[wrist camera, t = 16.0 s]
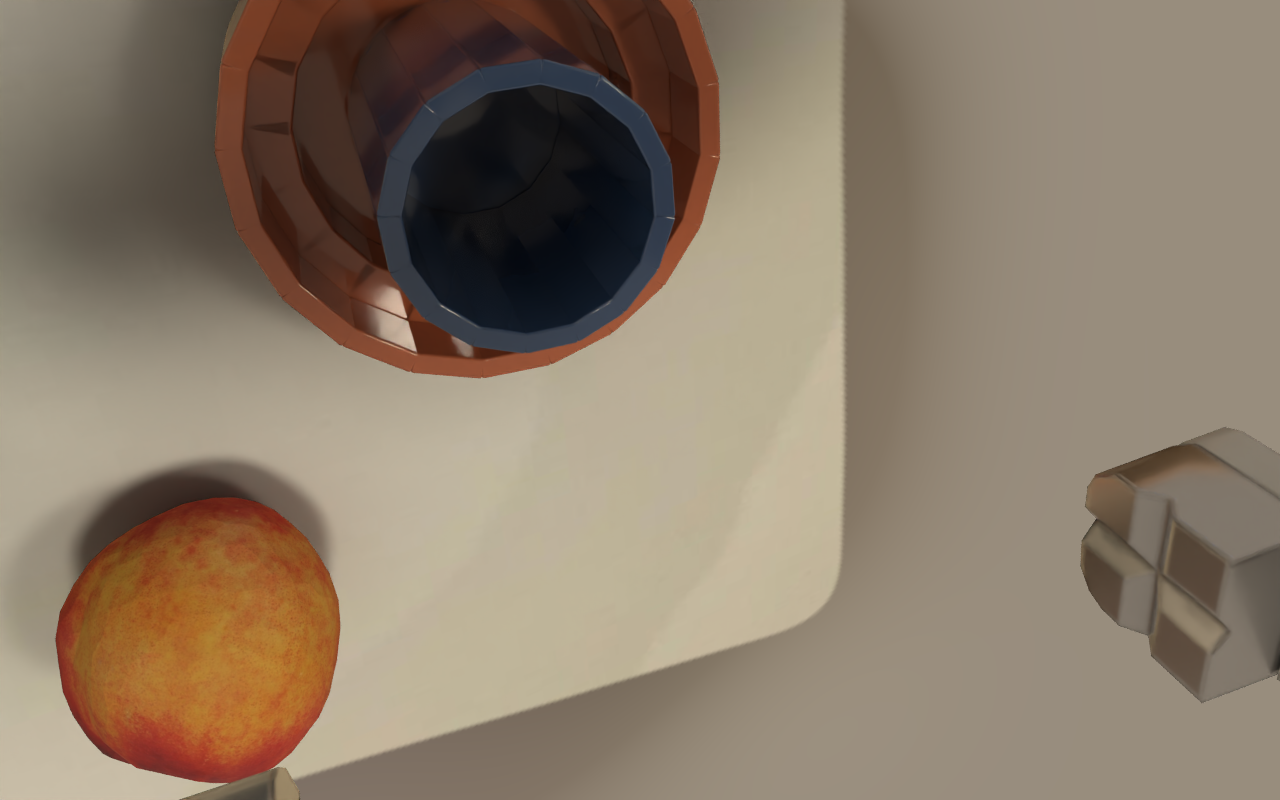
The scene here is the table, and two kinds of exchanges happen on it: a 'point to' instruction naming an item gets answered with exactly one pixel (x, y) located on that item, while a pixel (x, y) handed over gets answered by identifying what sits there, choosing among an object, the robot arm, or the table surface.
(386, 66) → the cup
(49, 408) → the table surface
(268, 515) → the fruit
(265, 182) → the terracotta bowl
